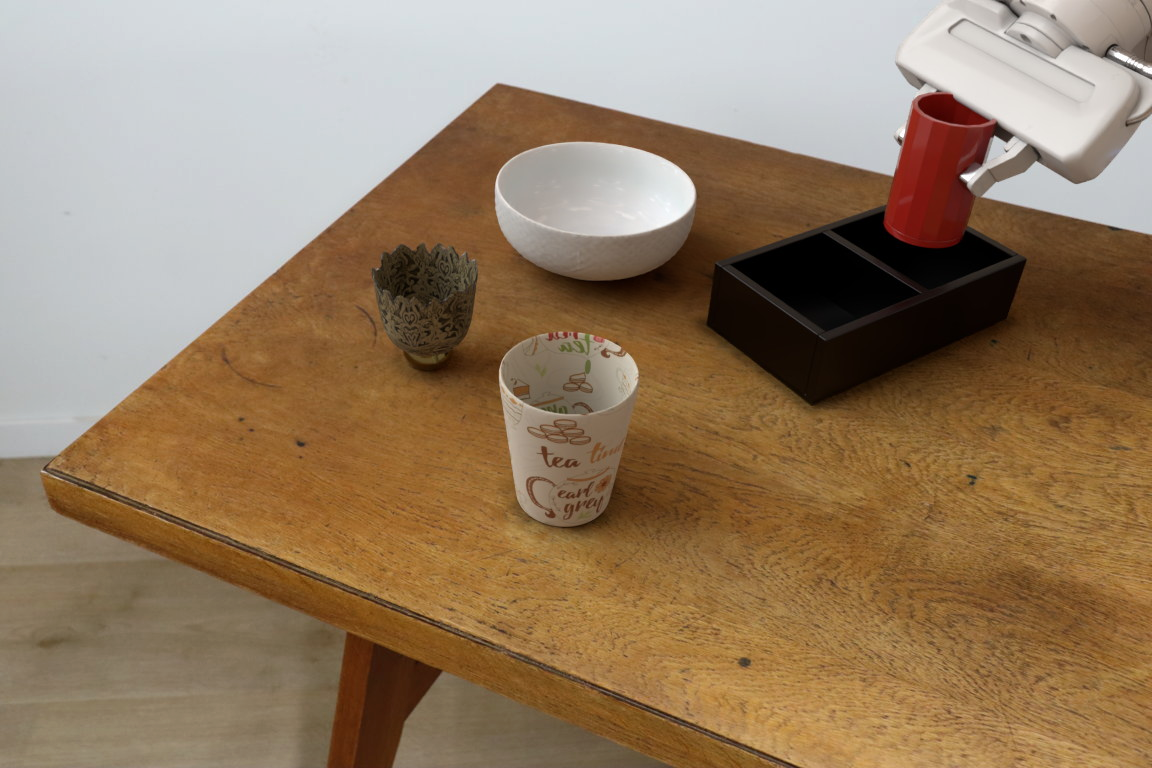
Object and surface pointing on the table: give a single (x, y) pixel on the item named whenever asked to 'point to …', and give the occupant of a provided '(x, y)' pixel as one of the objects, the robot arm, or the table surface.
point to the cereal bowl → (594, 209)
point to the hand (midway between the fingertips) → (933, 166)
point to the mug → (566, 422)
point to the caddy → (857, 301)
